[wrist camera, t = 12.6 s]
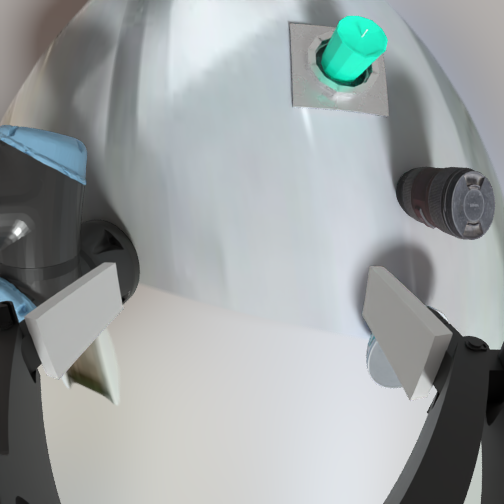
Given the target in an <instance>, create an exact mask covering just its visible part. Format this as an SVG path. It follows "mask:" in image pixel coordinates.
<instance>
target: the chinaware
mask: <svg viewBox="0 0 504 504" xmlns="http://www.w3.org/2000/svg"><path fill="white" fill-rule="evenodd" d="M426 307H429V306H426ZM430 308H432V307H430ZM432 309H434V308H432ZM434 310H436V311H437V312H438V313H439V314H440V315H442V316H443V317H444V319H446V320H447V321H448V319H447V318H446V316H445V315H444V314H443V313H442V312H440V311H438V310H437V309H434ZM448 324H449V321H448ZM367 368H368V372H369V375H370V377H371V379H372V380H373V381H374V382H375V383H376V384H378V385H379V386H382V387H385V388H401V387H402V385H401V383H400V381H399V379H398V377H397V375H396V374H395V372H394V370H393V368H392V366H391V364H390V363H389V361H388V359H387V357H386V356H385V354H384V352H383V350H382V349H381V347H380V345H379V343H378V342H377V340H376V338H375V336H374V335H373V333H372V334H371V337H370V339H369V343H368V347H367Z"/></svg>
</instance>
